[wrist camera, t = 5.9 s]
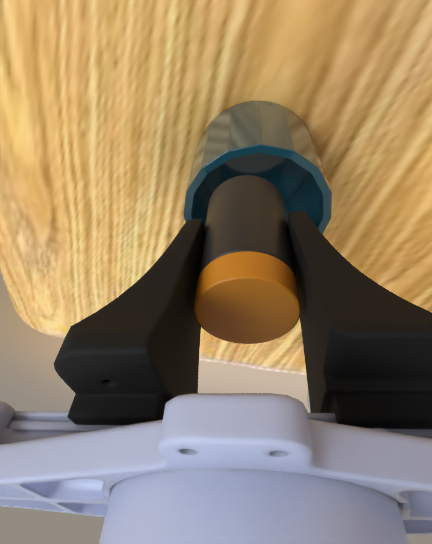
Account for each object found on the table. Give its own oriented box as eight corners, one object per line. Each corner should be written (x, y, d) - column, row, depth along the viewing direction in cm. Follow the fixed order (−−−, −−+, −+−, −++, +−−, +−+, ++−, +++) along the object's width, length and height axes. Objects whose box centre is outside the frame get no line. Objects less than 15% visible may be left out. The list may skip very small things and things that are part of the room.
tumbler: (332, 114, 19) (359, 163, 14) (290, 219, 24) (300, 277, 20) (205, 88, 18) (193, 130, 14) (190, 200, 23) (178, 257, 19)
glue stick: (284, 170, 13) (303, 274, 9) (284, 236, 16) (299, 343, 11) (202, 178, 14) (183, 280, 10) (213, 240, 16) (203, 345, 12)
